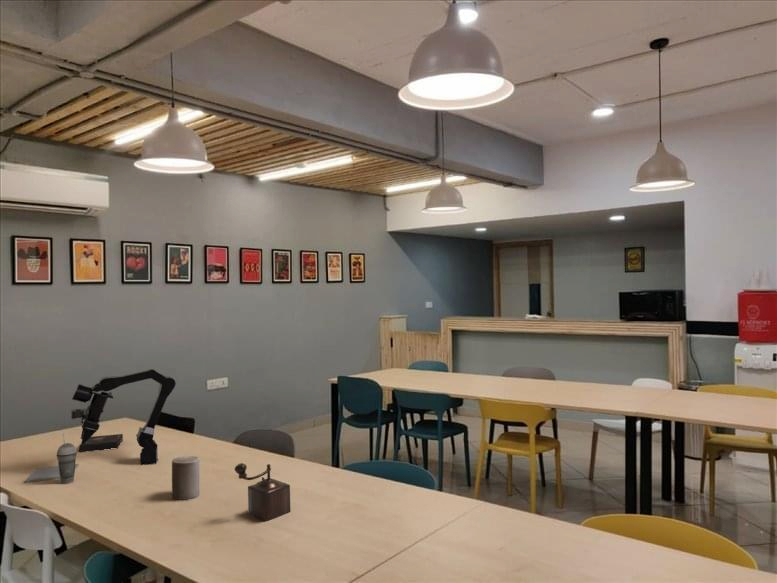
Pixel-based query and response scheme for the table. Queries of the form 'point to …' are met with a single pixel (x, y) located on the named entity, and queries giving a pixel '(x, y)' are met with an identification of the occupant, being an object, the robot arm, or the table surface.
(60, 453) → the beverage cup
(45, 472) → the rubber mat
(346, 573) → the table surface
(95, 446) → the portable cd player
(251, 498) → the manual coffee grinder
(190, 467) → the pillar candle
